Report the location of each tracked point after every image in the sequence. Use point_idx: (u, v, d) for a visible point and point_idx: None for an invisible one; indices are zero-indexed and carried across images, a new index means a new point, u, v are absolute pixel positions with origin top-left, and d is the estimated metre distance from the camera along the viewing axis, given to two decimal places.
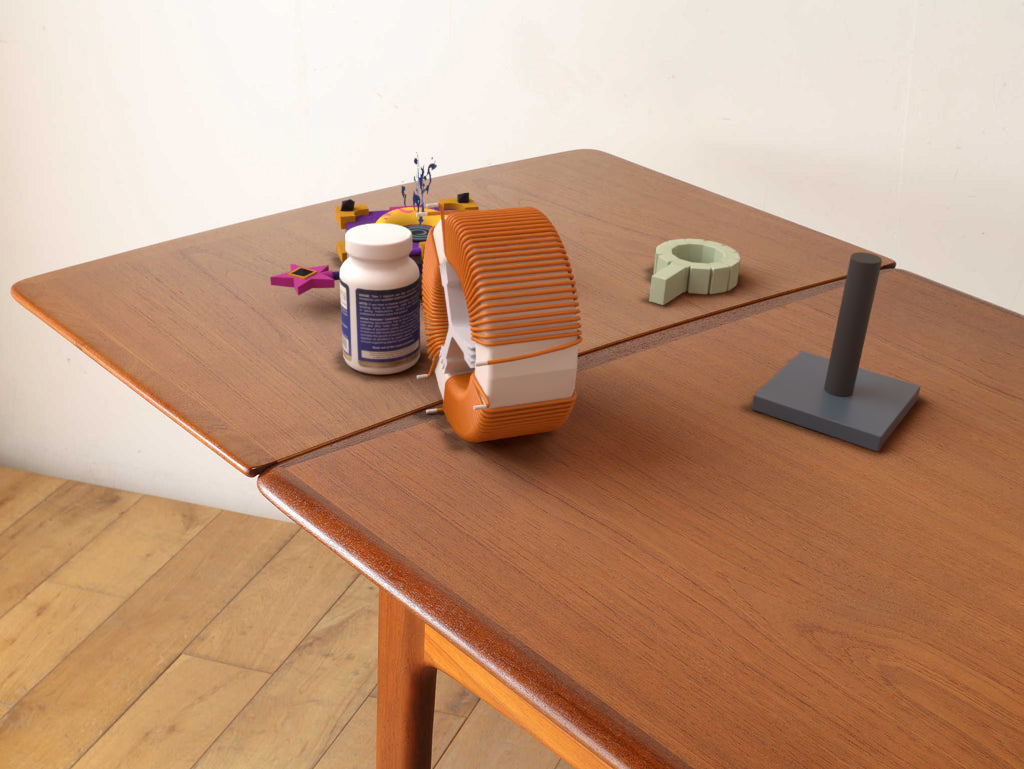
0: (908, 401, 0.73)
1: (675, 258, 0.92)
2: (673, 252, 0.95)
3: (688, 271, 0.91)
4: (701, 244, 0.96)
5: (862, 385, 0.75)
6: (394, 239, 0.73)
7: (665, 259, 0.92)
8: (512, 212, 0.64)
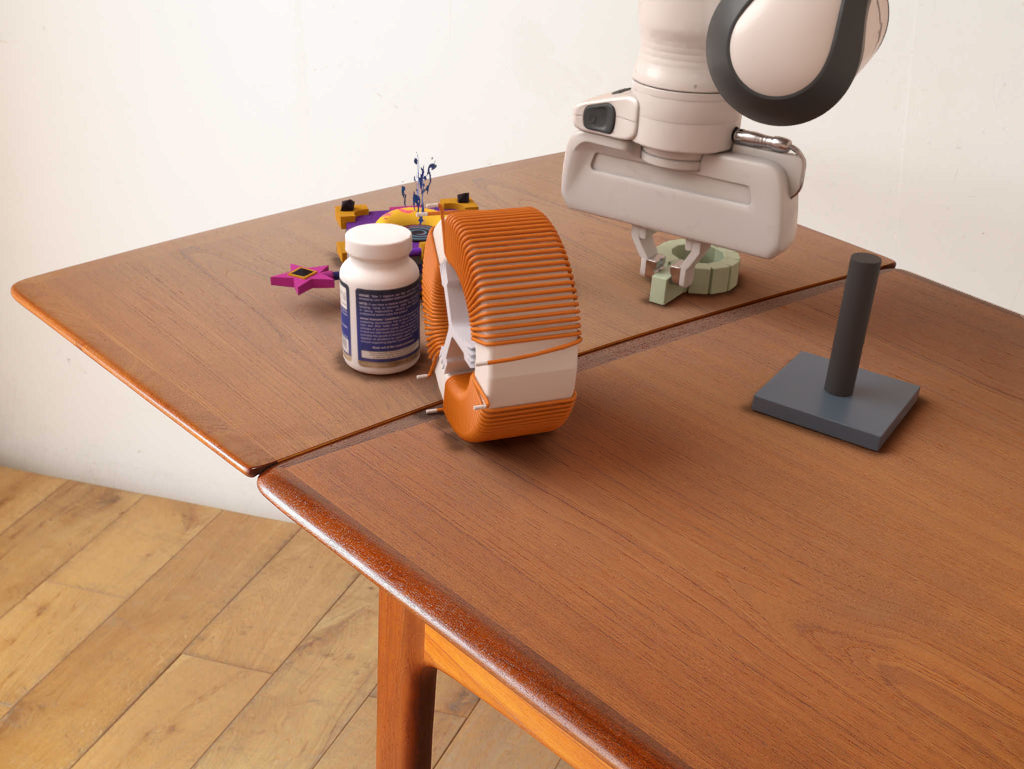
0: (908, 401, 0.73)
1: (675, 258, 0.92)
2: (673, 252, 0.95)
3: None
4: None
5: (862, 385, 0.75)
6: (394, 239, 0.73)
7: None
8: (512, 212, 0.64)
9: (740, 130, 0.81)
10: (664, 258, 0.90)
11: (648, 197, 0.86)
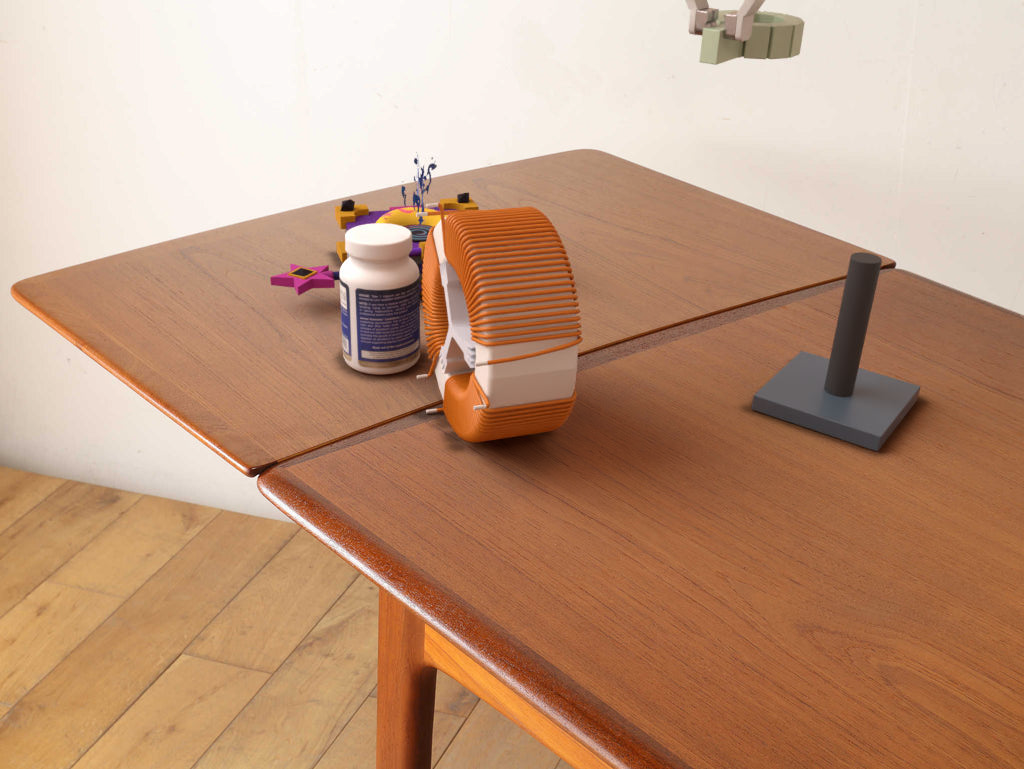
0: (908, 401, 0.73)
1: None
2: None
3: None
4: (757, 13, 0.83)
5: (862, 385, 0.75)
6: (394, 239, 0.73)
7: (716, 20, 0.79)
8: (512, 212, 0.64)
9: None
10: (716, 11, 0.77)
11: None
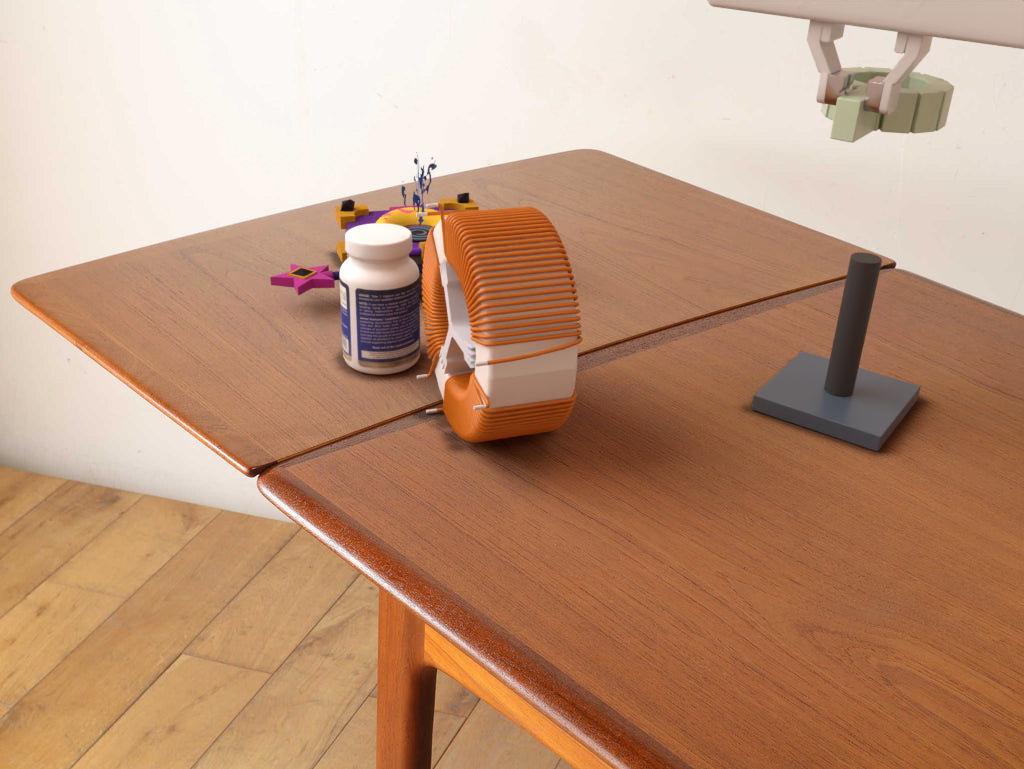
0: (908, 401, 0.73)
1: (861, 83, 0.64)
2: None
3: None
4: (889, 72, 0.67)
5: (862, 385, 0.75)
6: (394, 239, 0.73)
7: None
8: (512, 212, 0.64)
9: None
10: (852, 75, 0.61)
11: None
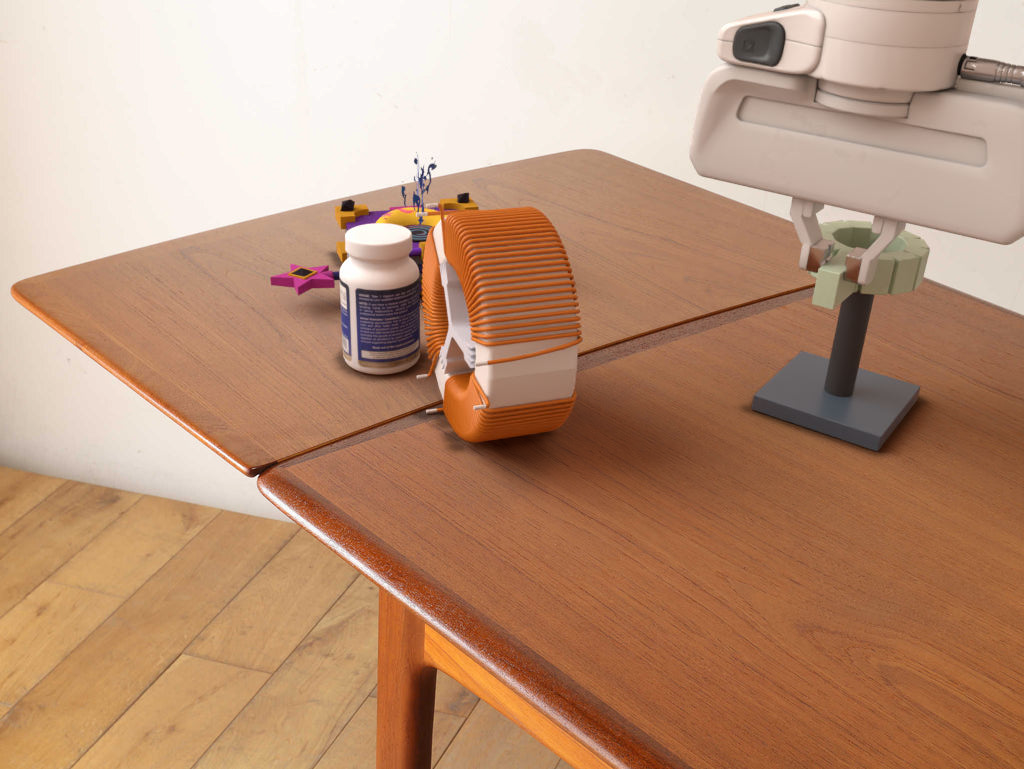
0: (908, 401, 0.73)
1: (842, 246, 0.67)
2: None
3: None
4: (869, 228, 0.71)
5: (862, 385, 0.75)
6: (394, 239, 0.73)
7: None
8: (512, 212, 0.64)
9: (971, 58, 0.56)
10: (833, 245, 0.65)
11: (822, 157, 0.61)
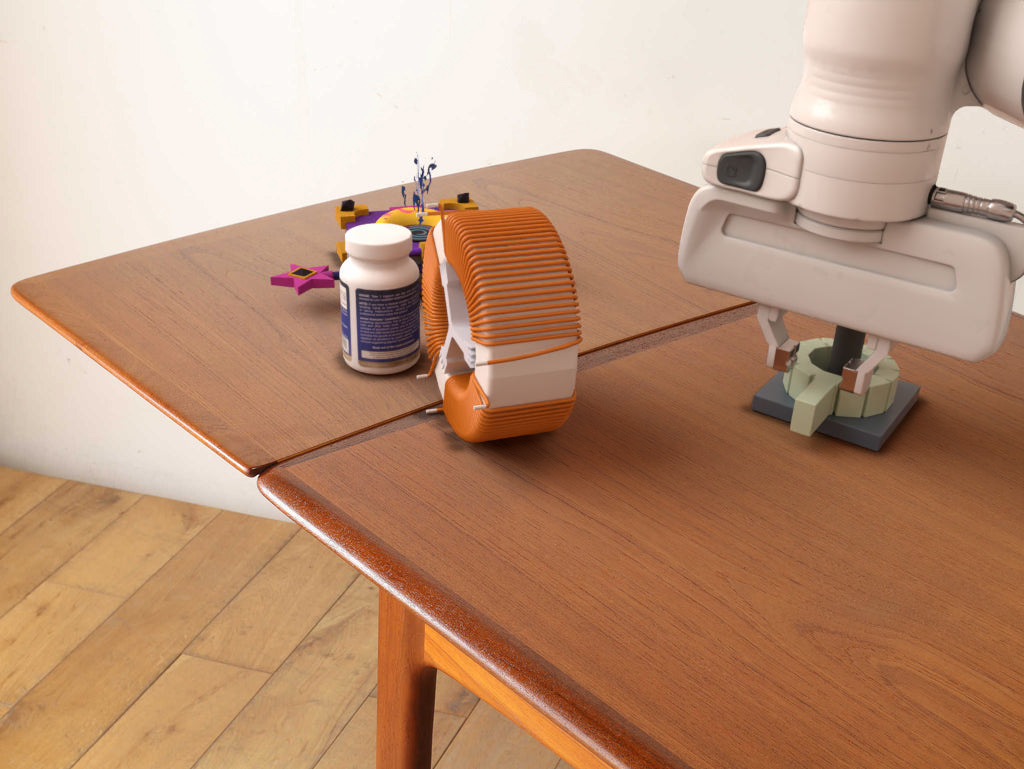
0: (908, 401, 0.73)
1: (817, 370, 0.72)
2: (809, 358, 0.74)
3: (837, 389, 0.70)
4: None
5: None
6: (394, 239, 0.73)
7: (804, 372, 0.71)
8: (512, 212, 0.64)
9: (941, 190, 0.59)
10: (798, 345, 0.69)
11: (802, 274, 0.64)
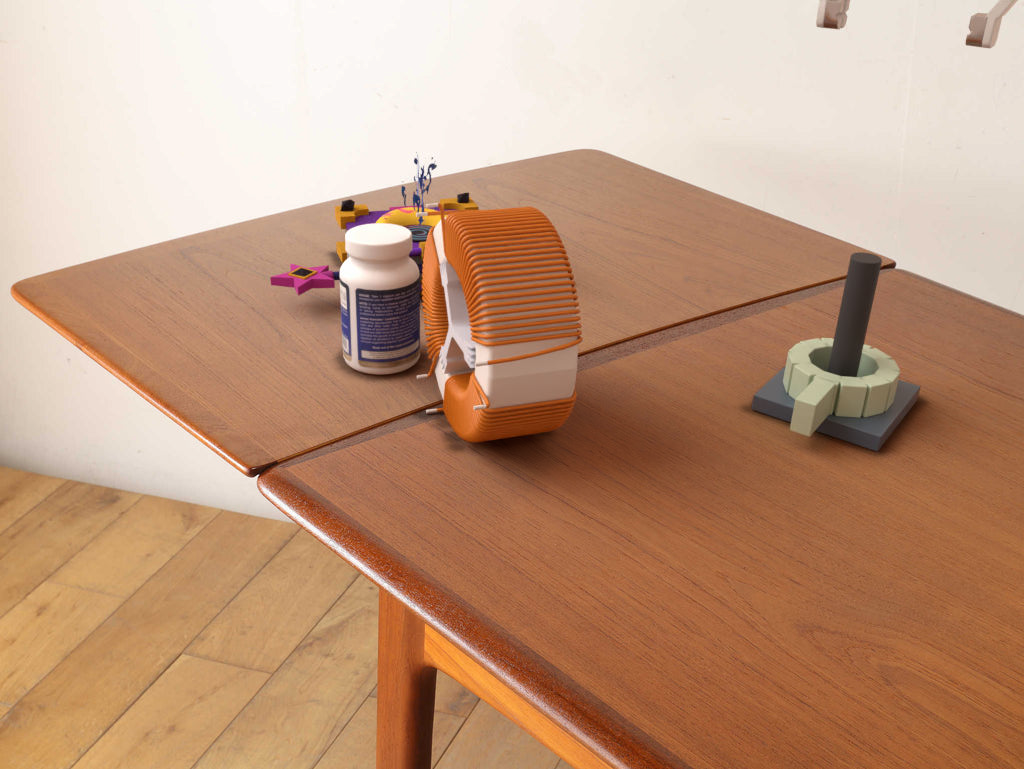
0: (908, 401, 0.73)
1: (817, 370, 0.72)
2: (809, 358, 0.74)
3: (837, 389, 0.70)
4: None
5: None
6: (394, 239, 0.73)
7: (804, 372, 0.71)
8: (512, 212, 0.64)
9: None
10: (848, 1, 0.68)
11: None
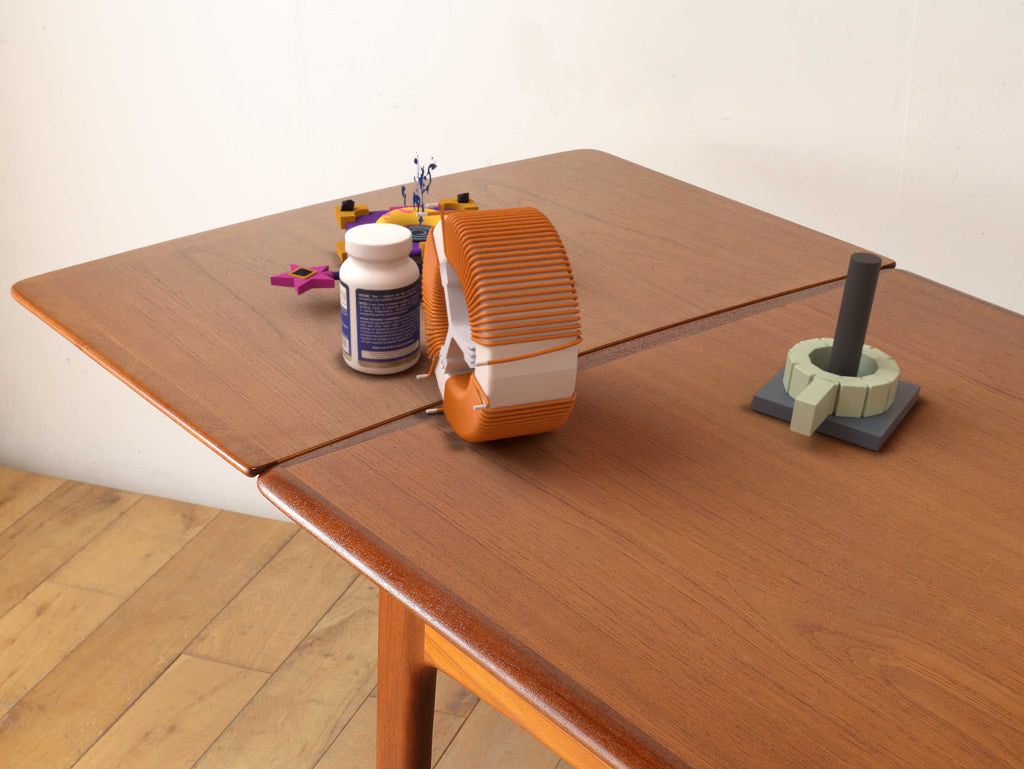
0: (908, 401, 0.73)
1: (817, 370, 0.72)
2: (809, 358, 0.74)
3: (837, 389, 0.70)
4: None
5: None
6: (394, 239, 0.73)
7: (804, 372, 0.71)
8: (512, 212, 0.64)
9: None
10: None
11: None
